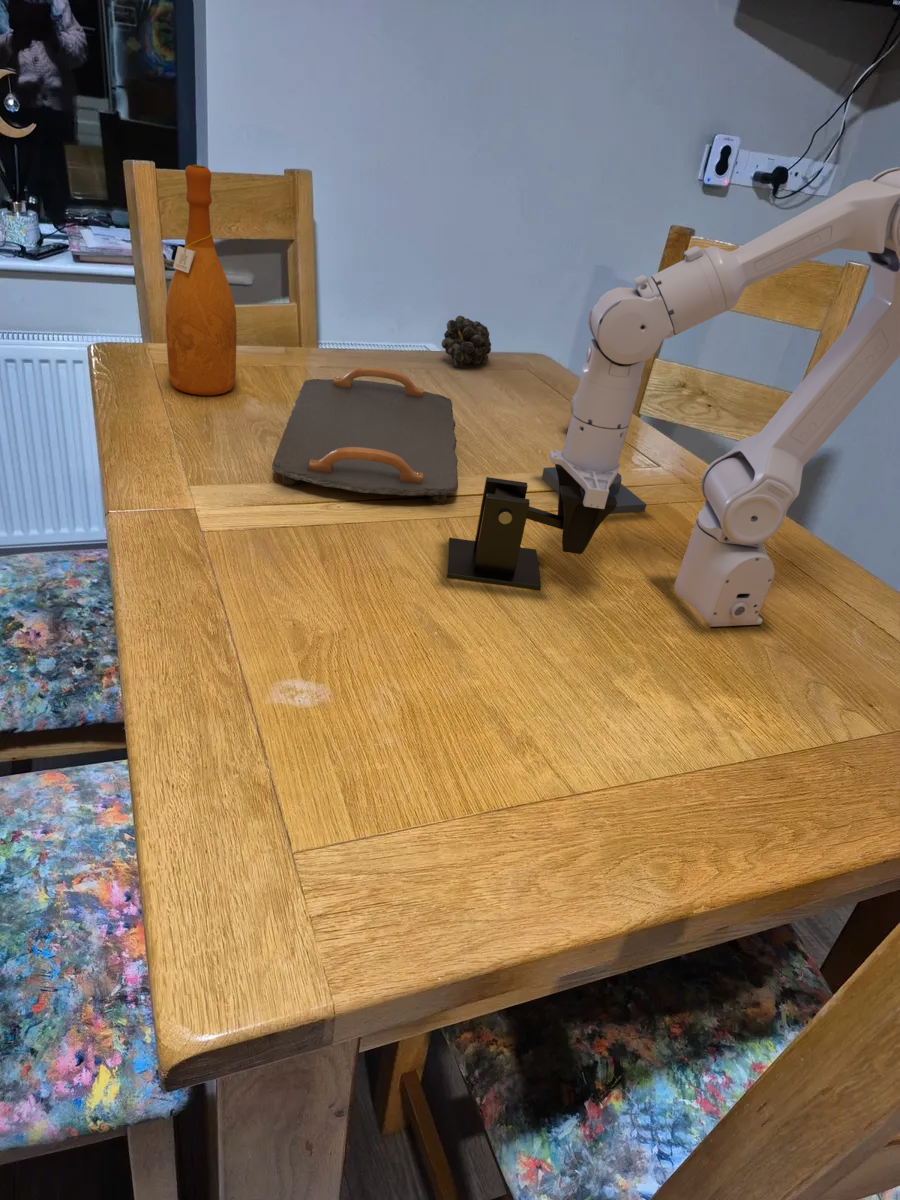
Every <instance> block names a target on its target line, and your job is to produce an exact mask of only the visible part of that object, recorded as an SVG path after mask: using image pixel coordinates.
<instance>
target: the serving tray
mask: <svg viewBox="0 0 900 1200" xmlns="http://www.w3.org/2000/svg"><path fill="white" fill-rule="evenodd" d="M360 377H375V378H380V379H381V378H382V379H388V380H391V381H396V382H398V383H400V384H402V385H403V386H402V385H398V384H393V383H387V382H378V381H373V380H370V381H369V380H358V379H357V378H360ZM455 429H456V421H455V419H454V410H453V401H452V399H451V398H449V397H446V396H444V395H441V394H437V393H432V392H428V391H425V389H424V388H420V387H417V386H416V385H415V383H414V382H413V381H412V379H410V378H409V377H408V376H407V375H405V374H404V373H402V372H399V371H397V370H394V369H390V368H385V367H384V368H383V367H376V366H361V367H356V368H354V369H352V370H350V371H349V372H347V373H346V374H345V375H343V376H342V377H333V378H332V379H322V378H312V379H306V380H304V382H302V385H301V387H300V390H299V391H298V395H297V397H296V399H295V401H294V405H293V407H292V410H291V411H290V416H289V418H288V419H287V422H286V426H285V429H284V430H283V435H282V437H281V439H280V442H279V445H278V447H277V450H276V454H275V455H274V458H273V460H272V464H271V470H272V471H273V472H275V473H277V474H280V475H282V476H281V483H282V485H283V486H286V487H290V488H292V487H297V486H299V485H300V481H302V482H306V483H308V484H309V483H310V484H313V485H316V486H321V487H324V488H325V487H326V488H332V489H338V490H344V491H345V490H346V491H349V492H354V493H362V494H370V495H386V496H387V495H393V496H407V497H408V496H409V497H410V496H413V497H414V496H416V497H417V496H428V500H429V501H430V502H431V503H433V504H437V505H442V504H445V503H446V501H447V495H448V494H454V493H456V492H458V489H459V479H458V477H459V476H458V463H459V461H458V457H457V455H456V451H455V450H456V447H457V438H456V437H457V436H456V433H455Z"/></svg>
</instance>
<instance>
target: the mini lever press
mask: <svg viewBox="0 0 900 1200" xmlns="http://www.w3.org/2000/svg"><path fill="white" fill-rule="evenodd" d="M528 487H529V486H528V482H524V481H517V480H511V479H504V478H503V479H502V478H496V477H489V476H486V478H485V482H484V488H483V494H482V498H481V499H482V500H481V505H480V510H479V516H478V520H477V528H476V533H475V538H474V540H470V539H463V538H456V537H448V543H447V545H448V547H447V559H446V560H447V562H446V563H447V564H446V579H451V580H460V581H464V582H465V581H466V582H473V583H481V584H488V585H496V586H503V587H508V588H509V587H510V588H518V589H524V590H533V591H541V588H542V583H541V576H540V568H539V559H538V551H537V549H535V548H528V547H521V545H522V542H523V536H524V532H525V527H526V522H527V519H526V518H527V513H528V509H529V506H530V504H531V503H530V499H529V498H526V496H527V492H528ZM495 488H500V489H503V490H506V491H509V492H512V493H516V494H519V495H520V497H521V498H517V497H510V496H503V495H496V494H493V493H494V490H495Z"/></svg>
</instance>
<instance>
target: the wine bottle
mask: <svg viewBox="0 0 900 1200" xmlns="http://www.w3.org/2000/svg"><path fill="white" fill-rule="evenodd" d="M184 176H185V181H186V183H185V185H186V194H185V201H186V202H187V203H188V222H187V223H188V224H187V225H188V226H187V230H186V234H185V236H184V247H183V246H180V245H178V246H177V249H176V253H175V257H174V262H173V266H172V268H173V269H175V270H174V272H173V275H172V277H171V280H170V283H169V287H168V291H167V295H166V299H165V301H166V302H165V335H166V336H165V337H166V351H167V352H166V353H167V365H168V366H167V367H168V375H169V381H170V383H171V385H172V386H173V387H174V388H175V389H177V390H178V391H181V392H184V393H185V394H191V395H197V396H217V395H222V394H225V393H227V392H230V391H231V390H232V389H233V388H234V386H235V383H236V373H237V371H236V370H237V311H236V310H237V309H236V304H235V300H234V296H233V292H232V290H231V286H230V284H229V281H228V278H227V276H226V273H225V271H224V269H223V266H222V264H221V261H220V259H219V256H218V253H217V251H216V248H215V247H216V246H215V242H214V237H213V231H212V228H211V220H210V219H211V218H210V217H211V216H210V205H212V203H213V202H212V201H213V200H212V195H211V184H212V183H211V182H212V172H211V170H210V169H209V168H208V167H206V166H205V165H200V164H189V165H187V166H186V167H185V170H184Z"/></svg>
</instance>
